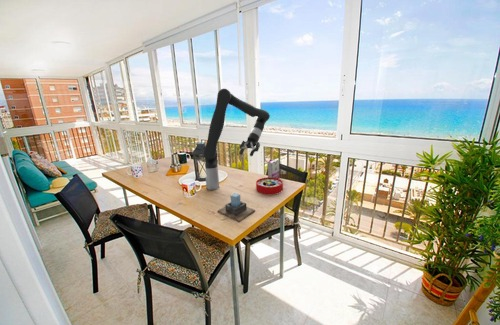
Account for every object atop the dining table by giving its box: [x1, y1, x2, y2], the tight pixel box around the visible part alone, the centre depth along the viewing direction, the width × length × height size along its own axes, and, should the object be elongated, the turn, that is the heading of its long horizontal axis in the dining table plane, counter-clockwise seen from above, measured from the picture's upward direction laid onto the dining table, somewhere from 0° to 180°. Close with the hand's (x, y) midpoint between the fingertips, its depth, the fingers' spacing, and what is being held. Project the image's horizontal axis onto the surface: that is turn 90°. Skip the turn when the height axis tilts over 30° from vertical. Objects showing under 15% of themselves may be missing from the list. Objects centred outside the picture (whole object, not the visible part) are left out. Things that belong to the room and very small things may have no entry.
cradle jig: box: [217, 200, 256, 223], centre depth 118 cm, size 18×14×5 cm
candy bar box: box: [266, 158, 280, 179], centre depth 166 cm, size 11×5×16 cm, turn 139°
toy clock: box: [255, 176, 284, 196], centre depth 149 cm, size 20×6×20 cm
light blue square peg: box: [230, 192, 242, 208], centre depth 117 cm, size 4×4×10 cm
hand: (245, 155), depth 132 cm, fingers open, 8 cm apart
